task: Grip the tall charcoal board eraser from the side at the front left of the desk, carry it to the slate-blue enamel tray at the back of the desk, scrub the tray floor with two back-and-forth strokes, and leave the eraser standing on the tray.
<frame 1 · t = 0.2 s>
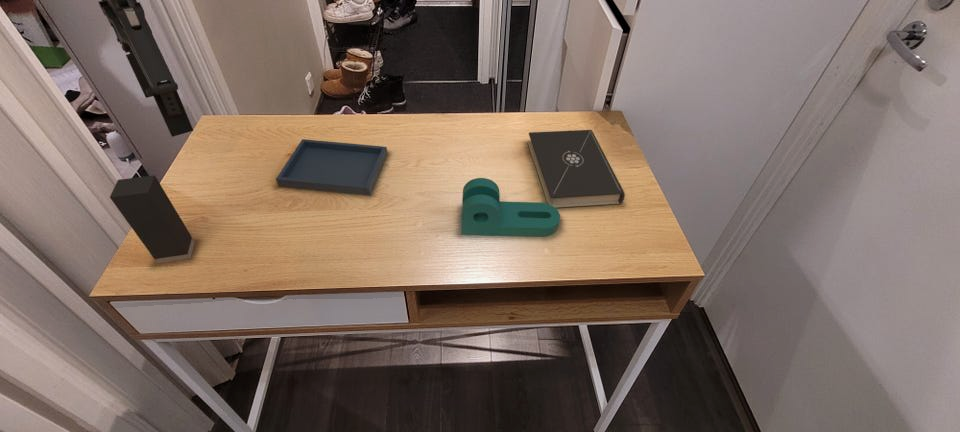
hand: (168, 112, 67), 23 cm above the table, tool pointing down, fingers open, 13 cm apart
bracket: (510, 223, 86), on the table
tray: (335, 169, 95), on the table
book: (571, 172, 97), on the table
eraser: (176, 252, 78), on the table
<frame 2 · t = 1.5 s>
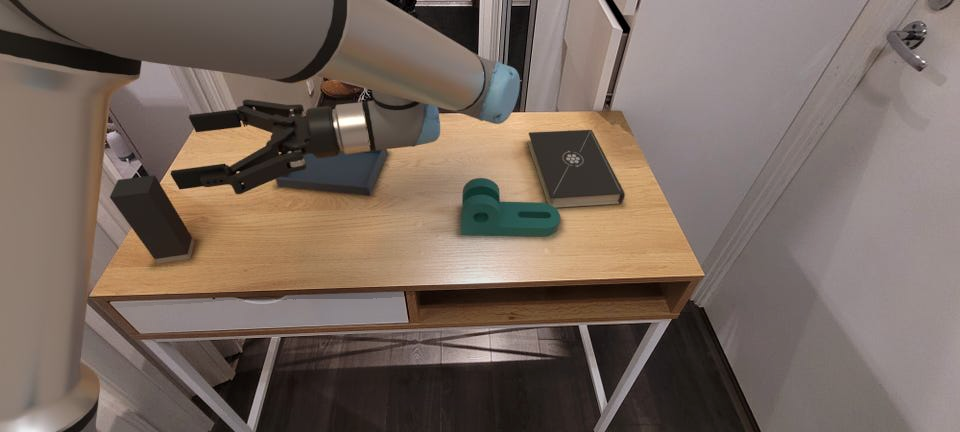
hand: (184, 150, 65), 20 cm above the table, tool horizontal, fingers open, 13 cm apart
nothing on the table moved.
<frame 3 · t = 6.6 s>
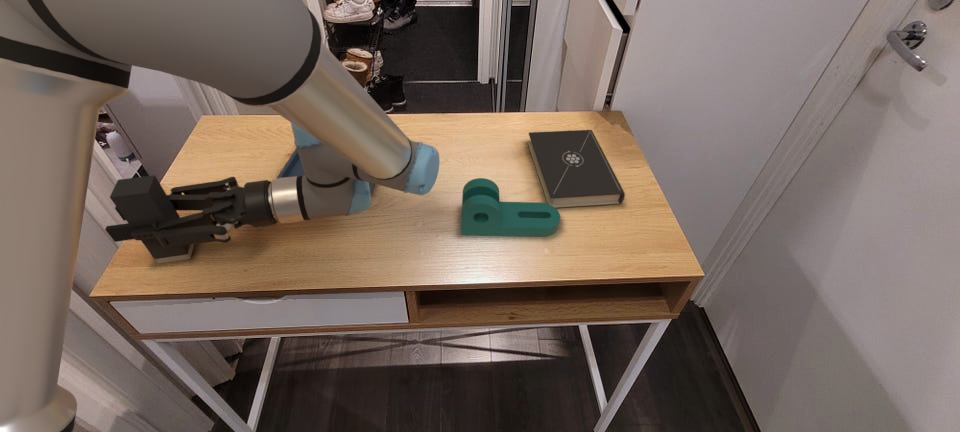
hand: (115, 223, 71), 8 cm above the table, tool horizontal, fingers closed on eraser, 4 cm apart
eraser: (176, 252, 78), on the table, touching gripper
everything else where it was.
when the fingers open (9 cm above the table, at t = 23.0 s): eraser stays where it is, resting on tray.
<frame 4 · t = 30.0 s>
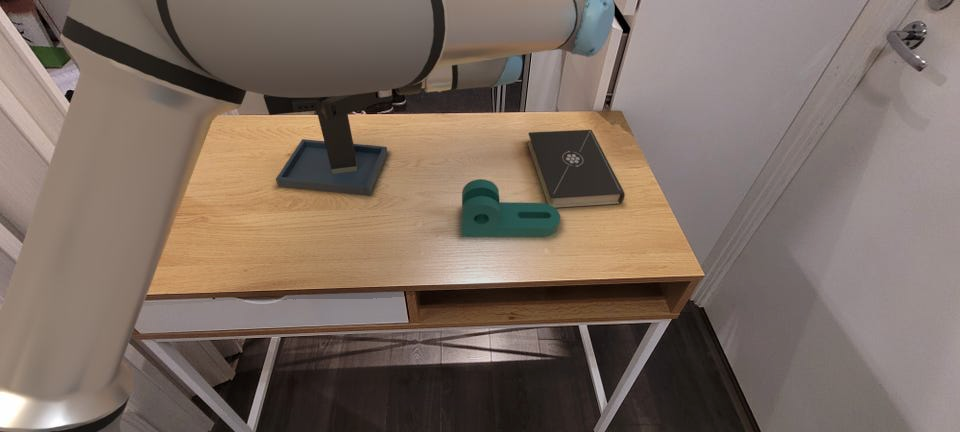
hand: (270, 79, 65), 28 cm above the table, tool horizontal, fingers open, 13 cm apart
eraser: (344, 166, 95), resting on tray
everything else where it was.
at the end: eraser inside the target area in the tray (1.9 cm from its centre), point 0.5 cm above the tray's base; eraser tilted 0°; eraser moved 33.5 cm from its start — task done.
